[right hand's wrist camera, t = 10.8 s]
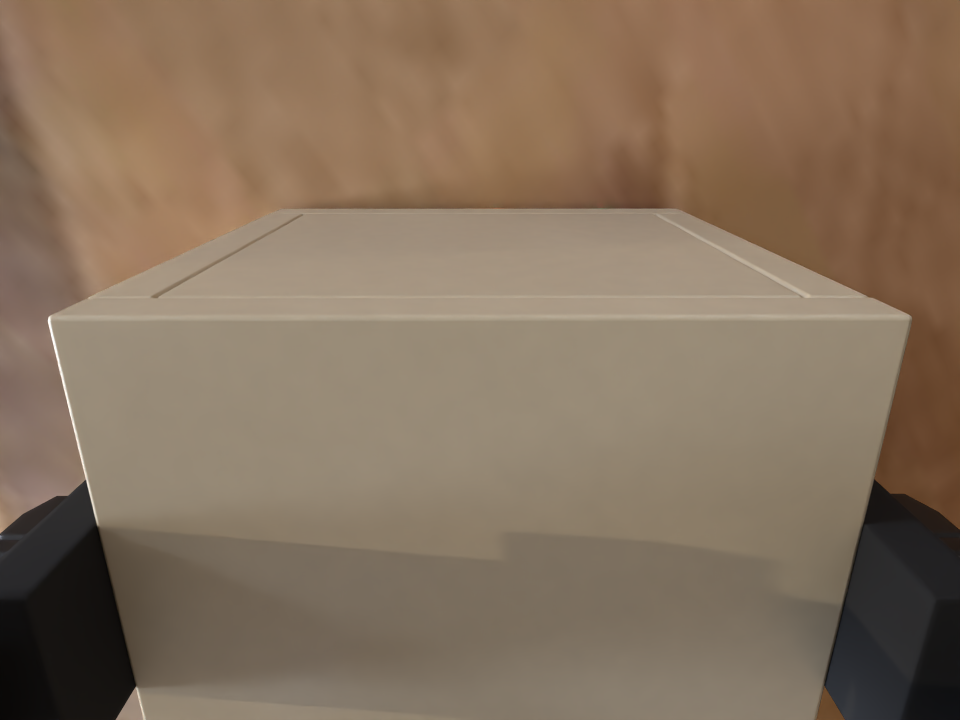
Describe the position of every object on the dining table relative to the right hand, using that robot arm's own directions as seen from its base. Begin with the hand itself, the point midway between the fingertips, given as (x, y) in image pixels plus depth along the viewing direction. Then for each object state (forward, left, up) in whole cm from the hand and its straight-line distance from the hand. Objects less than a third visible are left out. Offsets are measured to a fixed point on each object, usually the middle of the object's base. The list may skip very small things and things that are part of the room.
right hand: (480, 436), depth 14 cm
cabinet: (+1, -6, -4) cm, 8 cm away
